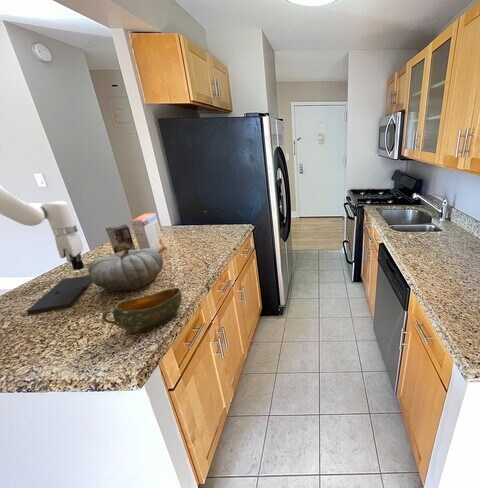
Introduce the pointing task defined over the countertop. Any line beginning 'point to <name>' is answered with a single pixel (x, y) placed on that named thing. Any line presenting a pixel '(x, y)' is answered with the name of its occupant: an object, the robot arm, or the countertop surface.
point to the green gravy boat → (145, 311)
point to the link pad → (71, 284)
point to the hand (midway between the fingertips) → (79, 268)
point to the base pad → (55, 301)
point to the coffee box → (120, 238)
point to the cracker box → (148, 232)
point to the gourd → (126, 269)
